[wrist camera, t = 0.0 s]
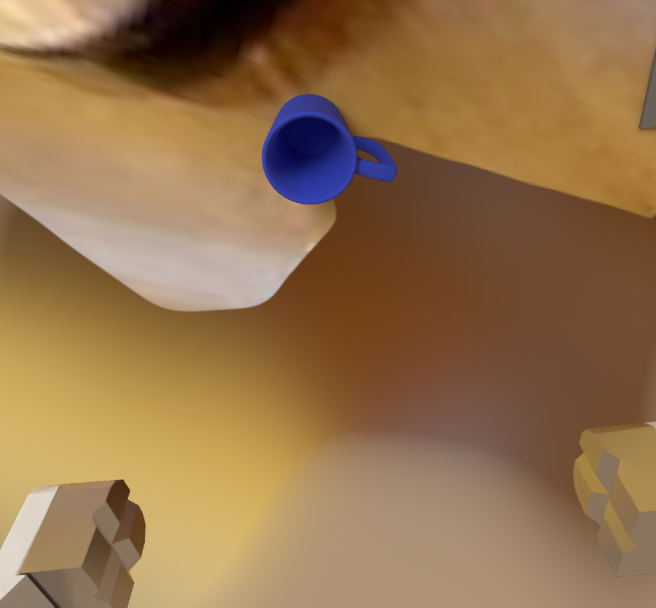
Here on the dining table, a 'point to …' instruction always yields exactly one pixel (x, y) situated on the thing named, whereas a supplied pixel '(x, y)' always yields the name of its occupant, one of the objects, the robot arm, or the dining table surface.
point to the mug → (318, 152)
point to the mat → (650, 101)
